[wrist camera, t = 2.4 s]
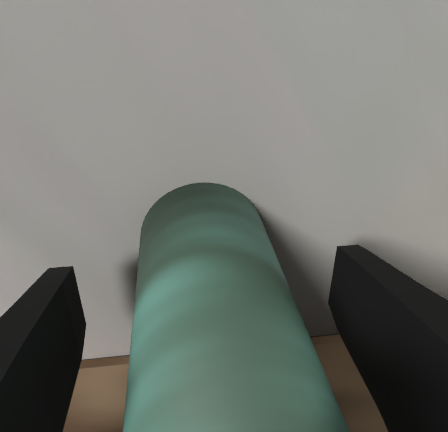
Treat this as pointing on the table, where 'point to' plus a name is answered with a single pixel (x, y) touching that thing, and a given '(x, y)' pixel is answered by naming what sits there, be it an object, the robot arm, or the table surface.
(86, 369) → the box
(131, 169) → the table surface
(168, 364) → the peg
